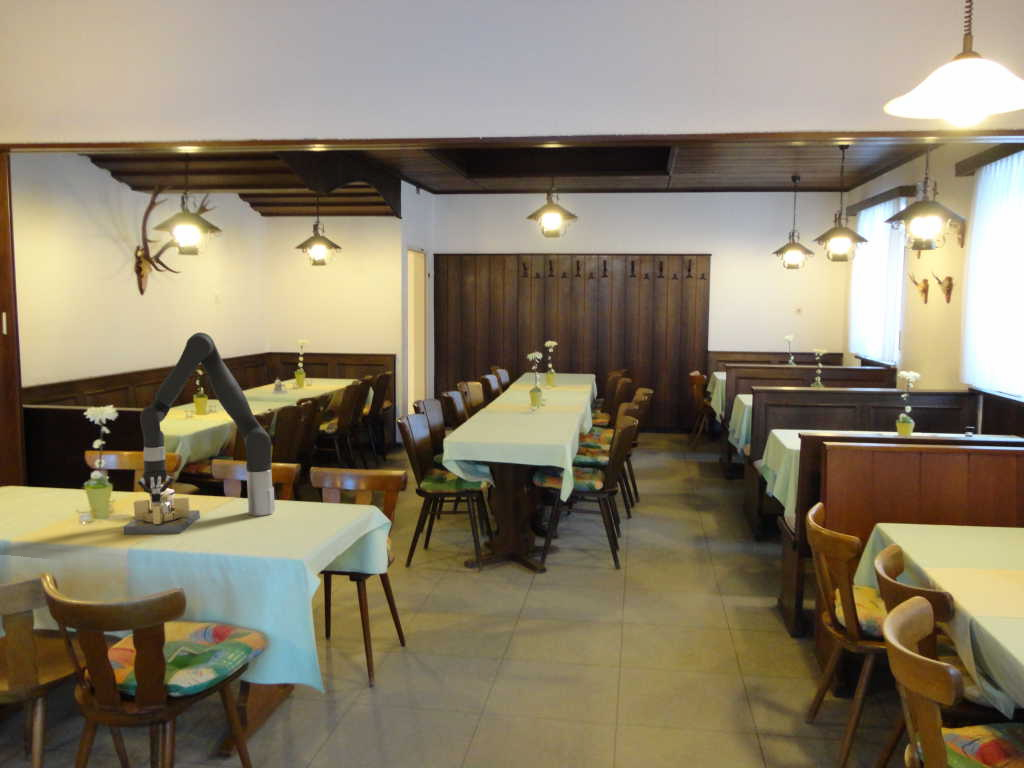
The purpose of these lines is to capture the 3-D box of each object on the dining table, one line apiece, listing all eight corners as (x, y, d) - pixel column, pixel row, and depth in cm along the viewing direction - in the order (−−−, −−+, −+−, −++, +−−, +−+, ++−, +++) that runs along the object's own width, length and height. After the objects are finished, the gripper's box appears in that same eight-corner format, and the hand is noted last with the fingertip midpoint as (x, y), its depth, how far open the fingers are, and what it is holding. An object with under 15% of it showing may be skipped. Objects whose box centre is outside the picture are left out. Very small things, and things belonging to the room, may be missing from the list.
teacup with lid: (167, 517, 308) (166, 488, 306) (145, 517, 309) (144, 487, 307) (184, 509, 319) (182, 481, 318) (163, 509, 321) (161, 480, 319)
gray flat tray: (199, 517, 307) (198, 495, 306) (180, 533, 287) (179, 508, 286) (146, 519, 306) (145, 496, 305) (124, 534, 286) (122, 510, 285)
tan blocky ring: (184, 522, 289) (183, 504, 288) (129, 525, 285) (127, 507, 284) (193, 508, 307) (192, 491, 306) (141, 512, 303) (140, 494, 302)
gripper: (136, 461, 294) (137, 507, 296) (174, 458, 301) (176, 503, 302) (134, 458, 300) (135, 503, 302) (172, 455, 307) (173, 499, 309)
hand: (156, 503), depth 302 cm, fingers closed
